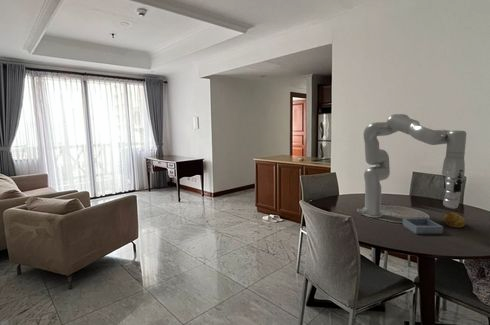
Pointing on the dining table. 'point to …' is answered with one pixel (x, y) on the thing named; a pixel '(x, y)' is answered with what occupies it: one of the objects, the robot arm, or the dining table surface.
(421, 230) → the tray
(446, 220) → the bread roll
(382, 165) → the robot arm
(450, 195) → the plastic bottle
